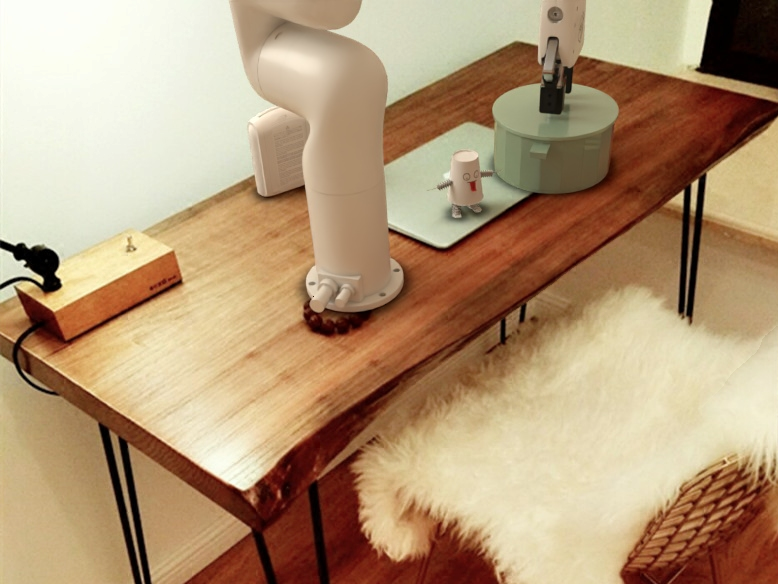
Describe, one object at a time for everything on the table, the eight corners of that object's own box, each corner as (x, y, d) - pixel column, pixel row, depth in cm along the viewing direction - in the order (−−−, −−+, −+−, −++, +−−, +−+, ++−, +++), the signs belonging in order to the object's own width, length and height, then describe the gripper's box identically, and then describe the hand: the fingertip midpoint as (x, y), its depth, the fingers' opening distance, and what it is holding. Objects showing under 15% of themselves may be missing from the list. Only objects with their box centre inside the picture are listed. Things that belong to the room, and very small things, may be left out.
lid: (626, 95, 137) (631, 56, 133) (607, 151, 124) (611, 109, 120) (508, 85, 142) (509, 46, 138) (478, 137, 129) (478, 97, 125)
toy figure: (437, 231, 126) (435, 175, 120) (419, 212, 130) (417, 158, 124) (512, 209, 130) (514, 154, 124) (493, 191, 133) (494, 137, 128)
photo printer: (311, 169, 141) (302, 92, 133) (325, 179, 139) (316, 101, 130) (252, 190, 137) (238, 112, 129) (265, 201, 135) (252, 122, 126)
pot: (619, 137, 144) (625, 85, 138) (595, 209, 128) (601, 154, 123) (513, 126, 149) (514, 76, 143) (477, 195, 133) (477, 141, 127)
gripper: (581, -4, 113) (569, 131, 125) (603, -48, 125) (591, 80, 137) (521, -8, 115) (516, 126, 127) (549, -50, 127) (542, 76, 139)
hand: (555, 101), depth 132 cm, fingers open, 6 cm apart
